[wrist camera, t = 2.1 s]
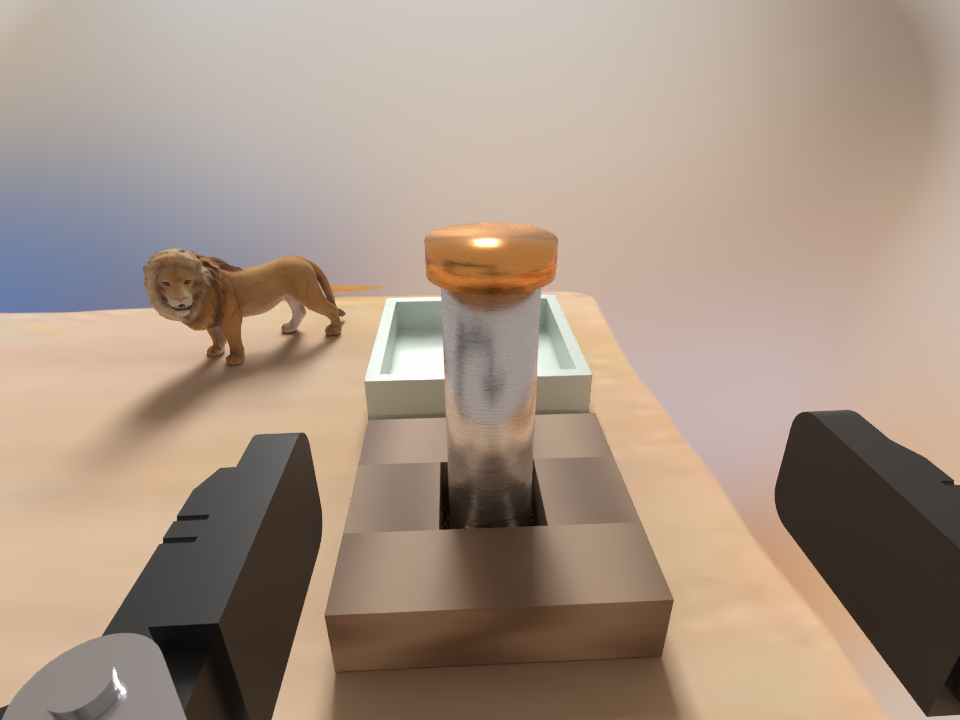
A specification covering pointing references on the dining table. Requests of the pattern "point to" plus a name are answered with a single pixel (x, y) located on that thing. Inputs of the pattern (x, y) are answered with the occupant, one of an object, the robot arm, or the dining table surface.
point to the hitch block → (493, 560)
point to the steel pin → (490, 363)
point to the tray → (420, 363)
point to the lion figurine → (235, 294)
